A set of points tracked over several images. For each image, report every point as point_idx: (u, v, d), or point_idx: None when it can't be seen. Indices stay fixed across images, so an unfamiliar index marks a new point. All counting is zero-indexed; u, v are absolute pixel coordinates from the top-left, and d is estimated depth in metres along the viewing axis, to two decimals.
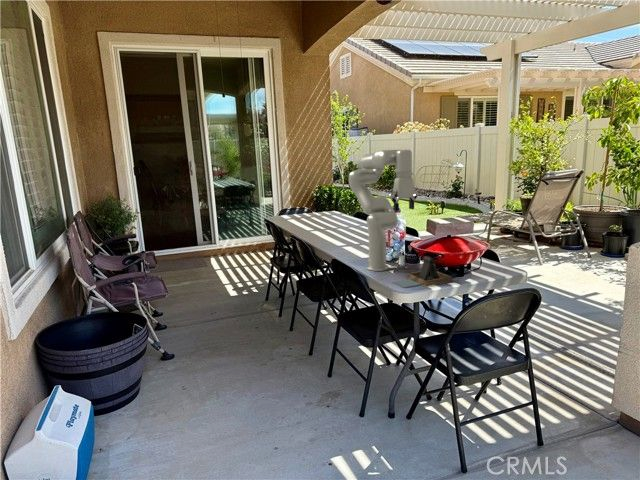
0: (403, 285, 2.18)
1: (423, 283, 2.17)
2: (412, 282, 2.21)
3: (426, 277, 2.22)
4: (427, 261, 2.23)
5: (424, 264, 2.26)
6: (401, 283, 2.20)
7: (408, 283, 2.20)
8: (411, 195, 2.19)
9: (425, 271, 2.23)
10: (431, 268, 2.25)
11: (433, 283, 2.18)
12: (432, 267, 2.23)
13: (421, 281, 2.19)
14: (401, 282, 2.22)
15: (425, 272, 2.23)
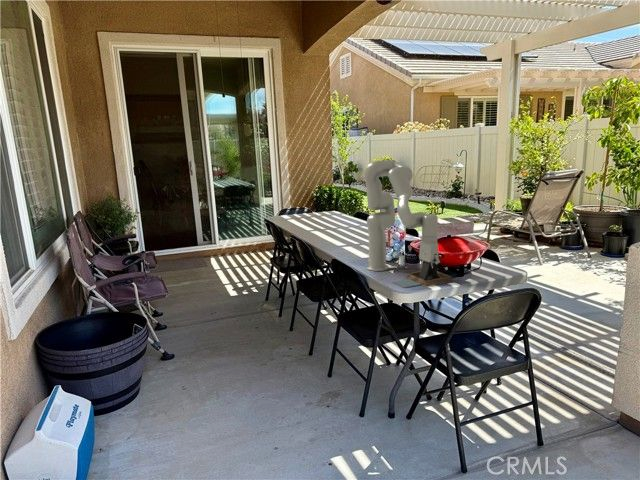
0: (403, 285, 2.18)
1: (423, 283, 2.17)
2: (412, 282, 2.21)
3: (426, 277, 2.22)
4: None
5: (424, 264, 2.25)
6: (401, 283, 2.20)
7: (408, 283, 2.20)
8: None
9: (425, 271, 2.23)
10: None
11: (433, 283, 2.18)
12: None
13: (421, 281, 2.19)
14: (401, 282, 2.22)
15: (425, 272, 2.23)
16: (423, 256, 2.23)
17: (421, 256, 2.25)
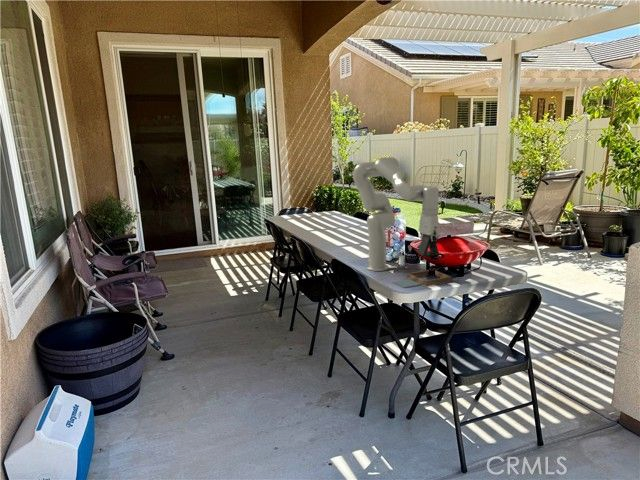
0: (403, 285, 2.18)
1: (423, 283, 2.17)
2: (412, 282, 2.21)
3: (425, 250, 2.20)
4: None
5: (424, 238, 2.23)
6: (401, 283, 2.20)
7: (408, 283, 2.20)
8: None
9: (425, 244, 2.21)
10: None
11: (433, 283, 2.18)
12: None
13: (421, 281, 2.19)
14: (401, 282, 2.22)
15: (425, 245, 2.20)
16: (423, 229, 2.20)
17: (421, 229, 2.22)
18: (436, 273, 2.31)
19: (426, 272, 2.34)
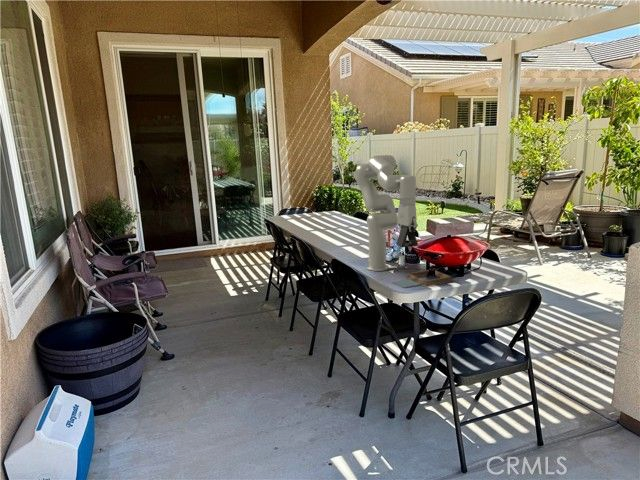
0: (403, 285, 2.18)
1: (423, 283, 2.17)
2: (412, 282, 2.21)
3: (404, 242, 2.13)
4: None
5: (402, 229, 2.16)
6: (401, 283, 2.20)
7: (408, 283, 2.20)
8: None
9: (403, 235, 2.14)
10: None
11: (433, 283, 2.18)
12: None
13: (421, 281, 2.19)
14: (401, 282, 2.22)
15: (403, 237, 2.14)
16: (401, 220, 2.14)
17: (399, 220, 2.16)
18: (436, 273, 2.31)
19: (426, 272, 2.34)
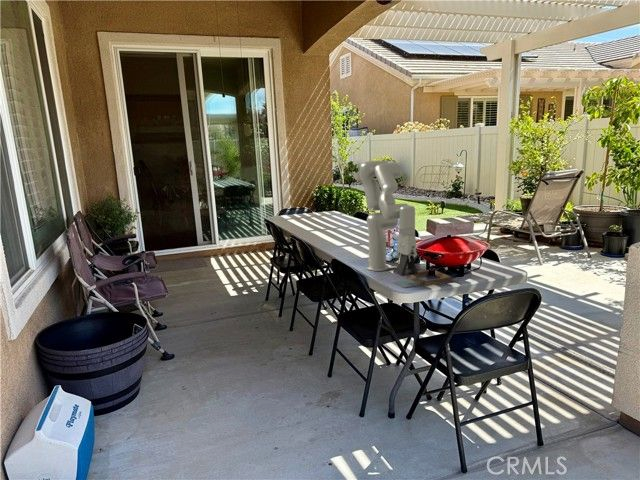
0: (403, 285, 2.18)
1: (423, 283, 2.17)
2: (412, 282, 2.21)
3: (404, 270, 2.16)
4: None
5: (402, 257, 2.19)
6: (401, 283, 2.20)
7: (408, 283, 2.20)
8: None
9: (403, 264, 2.17)
10: None
11: (433, 283, 2.18)
12: None
13: (421, 281, 2.19)
14: (401, 282, 2.22)
15: (403, 265, 2.16)
16: (401, 249, 2.17)
17: (399, 249, 2.18)
18: (436, 273, 2.31)
19: (426, 272, 2.34)
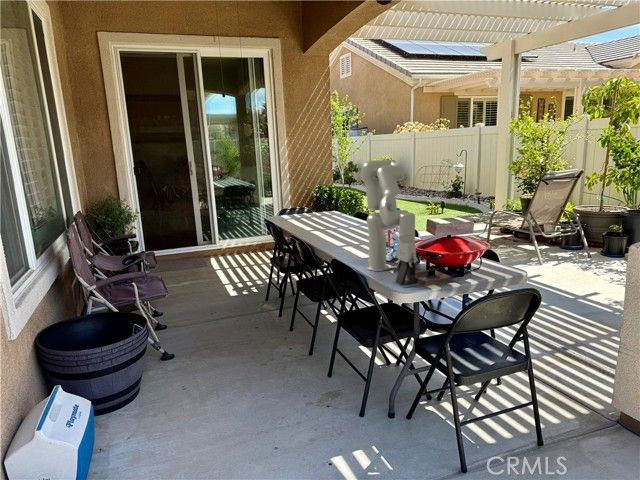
0: (403, 285, 2.18)
1: (423, 283, 2.17)
2: None
3: (403, 280, 2.17)
4: (404, 263, 2.18)
5: (401, 266, 2.20)
6: None
7: None
8: None
9: (402, 274, 2.18)
10: (408, 271, 2.20)
11: (433, 283, 2.18)
12: None
13: (421, 281, 2.19)
14: None
15: (402, 275, 2.18)
16: (401, 256, 2.17)
17: (399, 256, 2.19)
18: (436, 273, 2.31)
19: (426, 272, 2.34)
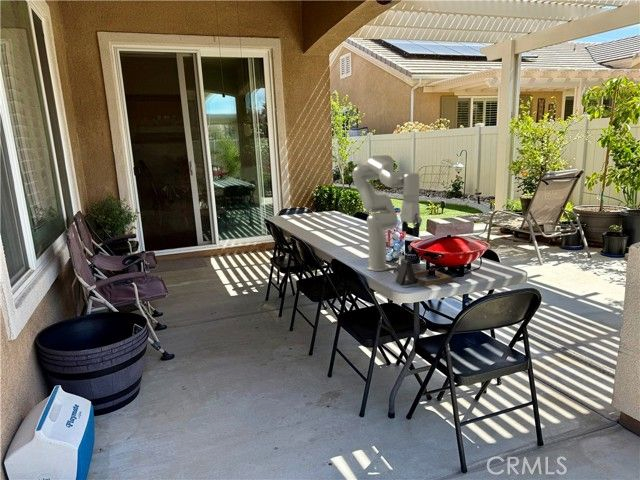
0: (403, 285, 2.18)
1: (423, 283, 2.17)
2: None
3: (403, 280, 2.17)
4: (404, 263, 2.18)
5: (401, 266, 2.20)
6: None
7: None
8: None
9: (402, 274, 2.18)
10: (408, 271, 2.20)
11: (433, 283, 2.18)
12: (409, 269, 2.18)
13: (421, 281, 2.19)
14: None
15: (402, 275, 2.18)
16: (405, 217, 2.16)
17: (402, 217, 2.18)
18: (436, 273, 2.31)
19: (426, 272, 2.34)
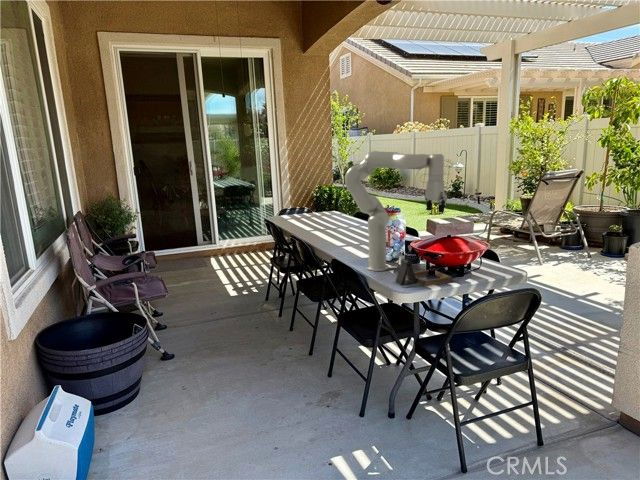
0: (403, 285, 2.18)
1: (423, 283, 2.17)
2: None
3: (403, 280, 2.17)
4: (404, 263, 2.18)
5: (401, 266, 2.20)
6: None
7: None
8: None
9: (402, 274, 2.18)
10: (408, 271, 2.20)
11: (433, 283, 2.18)
12: (409, 269, 2.18)
13: (421, 281, 2.19)
14: None
15: (402, 275, 2.18)
16: (430, 196, 2.30)
17: (427, 196, 2.32)
18: (436, 273, 2.31)
19: (426, 272, 2.34)
